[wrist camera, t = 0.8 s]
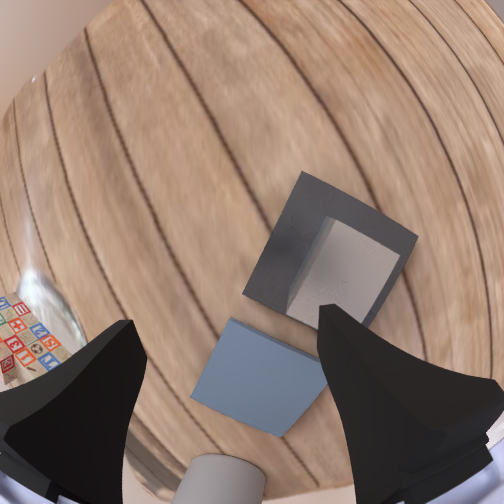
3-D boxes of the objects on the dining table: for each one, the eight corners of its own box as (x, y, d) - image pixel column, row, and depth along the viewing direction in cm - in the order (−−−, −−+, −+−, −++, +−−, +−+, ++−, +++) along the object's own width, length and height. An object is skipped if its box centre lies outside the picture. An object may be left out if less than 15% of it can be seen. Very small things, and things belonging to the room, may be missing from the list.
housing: (376, 243, 22) (400, 255, 16) (337, 311, 23) (348, 343, 17) (326, 216, 22) (336, 219, 16) (289, 287, 24) (286, 314, 18)
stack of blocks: (88, 367, 33) (38, 407, 21) (85, 389, 35) (41, 427, 23) (15, 291, 35) (-34, 309, 23) (14, 315, 36) (-29, 336, 24)
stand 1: (335, 360, 26) (337, 370, 24) (282, 426, 29) (280, 437, 27) (233, 312, 27) (228, 320, 25) (195, 387, 30) (189, 397, 28)
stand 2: (410, 233, 23) (418, 236, 21) (351, 338, 26) (354, 347, 24) (301, 173, 24) (302, 170, 22) (246, 287, 26) (242, 293, 25)
